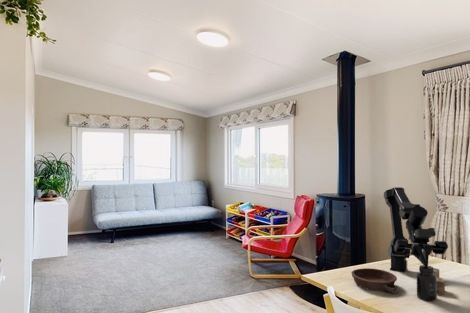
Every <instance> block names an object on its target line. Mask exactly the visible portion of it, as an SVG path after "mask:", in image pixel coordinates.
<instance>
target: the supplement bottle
mask: <svg viewBox="0 0 470 313" xmlns="http://www.w3.org/2000/svg"><path fill="white" fill-rule="evenodd" d="M433 268H434V267H433V266H431V265H428V266H427V267H425V266H424V265H423V264H421V265H419V266H418V269H419V271H418V272H417V273H416V296H417V298H418V299H420V300H422V301H427V302H433V301H437V299H438V294H437V278H436V276H435V275H434V274H433V273H434V270H433Z"/></svg>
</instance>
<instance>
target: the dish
mask: <svg viewBox="0 0 470 313" xmlns="http://www.w3.org/2000/svg"><path fill="white" fill-rule="evenodd" d="M351 276H352V278H353V280H354V283H355V284H356V285H357V286H359V287H360V288H362V289H366V290H369V291H374V292H389V293H396V292H397V291H398V287H397V286H396V284H395V282H397V280H398V278H397V276H396V275H395V274H393V273H392V272H389V271H386V270H383V269H378V268H372V267H371V268H370V267H367V268H357V269H354V270H352V271H351Z"/></svg>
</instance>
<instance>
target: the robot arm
mask: <svg viewBox="0 0 470 313" xmlns="http://www.w3.org/2000/svg"><path fill="white" fill-rule="evenodd" d="M383 199H384V201H385V204H386V205H387V207H389V213H390V221H391V231H392V238H391V239H390V242H389V246H388V249H387V255H388V257H390V268H389V270H391V271H395V272H396V271H397V272H400V273H406V271H407V270H408V260H407V259H410V255H412V256H414V257H415V258H416V259H417V260H418V261H419V262H420V263H421V265H424V266H425V267H427V266H429V256H431V254H432V253H434V254H435V255H444V254H445V253H446V251H447V249H448V248H449V245H448V243H447V242H446V241H445V240H434V243H429V242H430V239H431V238H434V237H435V236H436V235H437V234H436V230H435V228H434V227H428V228H423V226H422V225H424V224H425V221H426V218H427V216H428V214H429V213H428V210H427V209H426V208H425V207H423V206H421V204H417V203H416V204H414V203H412V202H411V201H410V199H409V197H408V196H407V194H406V192H405V188H404V187H398V186H397V187H395V186H394V187H391V188H390V189H387V190H385V191H384V192H383ZM402 220H404V221H406V222H405V229H406V230H407V233H408V238H406V237H405V236H404V230H403V223H402ZM409 240H410V243H409Z"/></svg>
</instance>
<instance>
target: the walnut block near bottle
mask: <svg viewBox="0 0 470 313" xmlns="http://www.w3.org/2000/svg"><path fill="white" fill-rule="evenodd" d="M436 278H437V277H436ZM445 283H446V281H445V280H444V278H443V277H439V278H437V295H446V294H445V293H446V284H445Z"/></svg>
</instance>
